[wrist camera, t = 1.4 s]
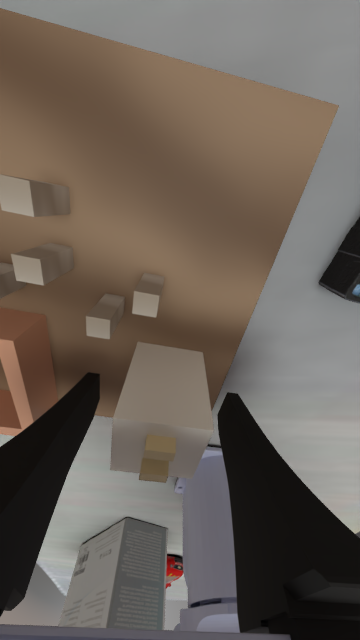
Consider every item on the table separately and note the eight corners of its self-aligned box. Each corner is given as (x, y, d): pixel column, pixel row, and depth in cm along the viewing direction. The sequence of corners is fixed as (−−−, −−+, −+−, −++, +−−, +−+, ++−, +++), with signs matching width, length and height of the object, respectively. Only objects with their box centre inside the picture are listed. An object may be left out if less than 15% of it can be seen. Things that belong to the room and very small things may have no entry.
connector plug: (189, 396, 14) (192, 493, 10) (132, 388, 14) (106, 484, 9) (202, 352, 12) (216, 446, 8) (137, 341, 12) (107, 433, 7)
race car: (170, 548, 37) (169, 584, 33) (190, 555, 39) (191, 590, 35) (123, 563, 41) (117, 596, 38) (143, 568, 43) (139, 600, 40)
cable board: (202, 412, 18) (207, 463, 14) (-47, 378, 16) (-112, 427, 12) (314, 121, 8) (408, 61, 5) (-246, -34, 7) (-710, -294, 3)
